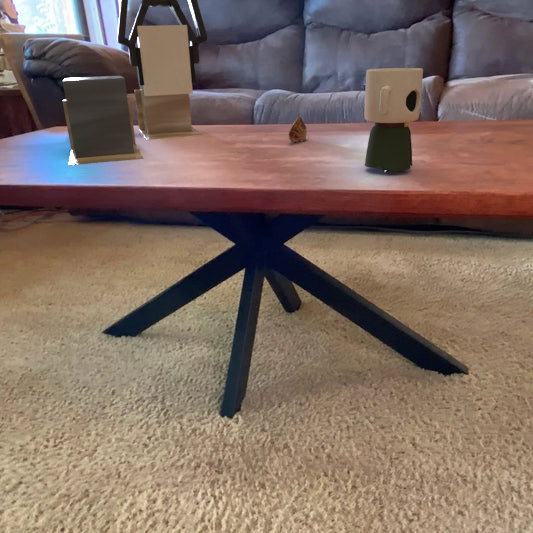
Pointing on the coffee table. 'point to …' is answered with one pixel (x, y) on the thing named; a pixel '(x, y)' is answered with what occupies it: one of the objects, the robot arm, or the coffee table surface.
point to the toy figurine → (391, 115)
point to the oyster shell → (298, 131)
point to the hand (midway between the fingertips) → (167, 83)
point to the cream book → (165, 59)
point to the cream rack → (164, 116)
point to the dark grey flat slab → (99, 120)
